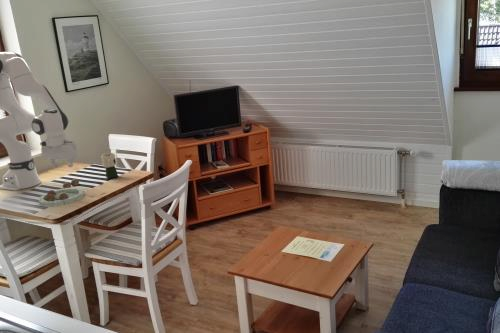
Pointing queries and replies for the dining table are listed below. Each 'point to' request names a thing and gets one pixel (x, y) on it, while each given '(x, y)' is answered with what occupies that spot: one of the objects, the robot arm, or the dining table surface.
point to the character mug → (109, 164)
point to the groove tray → (72, 196)
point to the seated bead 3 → (63, 196)
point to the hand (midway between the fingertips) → (63, 167)
